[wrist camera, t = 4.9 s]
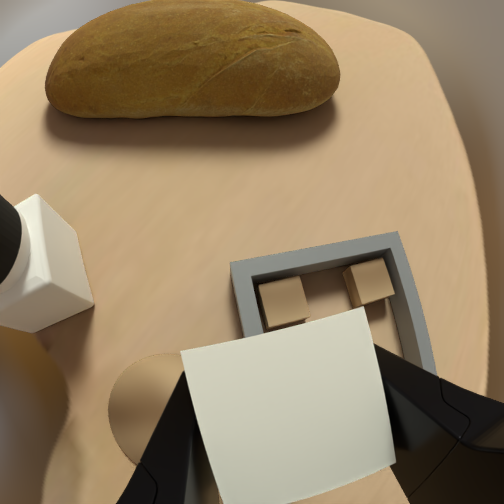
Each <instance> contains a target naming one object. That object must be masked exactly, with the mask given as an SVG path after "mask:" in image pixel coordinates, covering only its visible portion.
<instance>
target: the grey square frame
mask: <svg viewBox="0 0 504 504" xmlns="http://www.w3.org/2000/svg"><path fill="white" fill-rule="evenodd" d="M375 258H378V259H379V258H383V260H384V262H385V265H386V268H387V271H388V274H389V277H390V280H391V283H392V286H393V289H394V293H395V294H393V295H391V296H389V298H390V302H391V305H392V309H393V313H394V316H395V320H396V324H397V328H398V332H399V337H400V341H401V345H402V349H403V354H404V359H405V360H407V361H409V362H411V363H413V364H415V365H417V366H419V367H421V368H423V369H425V370H426V371H428V372H430V373H432V374H434V375H436V376H437V372H436V367H435V362H434V357H433V352H432V347H431V343H430V338H429V334H428V330H427V326H426V322H425V318H424V314H423V310H422V306H421V303H420V299H419V296H418V292H417V289H416V285H415V282H414V279H413V275H412V272H411V269H410V266H409V263H408V260H407V257H406V254H405V251H404V248H403V245H402V242H401V239H400V236H399V234H398V231H396V232H391V233H385V234H380V235H375V236H369V237H364V238H359V239H354V240H348V241H343V242H338V243H332V244H327V245H321V246H316V247H311V248H305V249H300V250H295V251H289V252H284V253H278V254H273V255H267V256H262V257H257V258H251V259H246V260H240V261H235V262H230V274H231V279H232V284H233V289H234V294H235V299H236V304H237V308H238V313H239V318H240V323H241V328H242V332H243V337H244V338H247V337H251V336H255V335H260V334H263V329H262V325H261V320H260V316H259V311H258V306H257V302H256V297H255V293H254V288H253V284H256V283H261V282H266V281H271V280H276V279H281V278H286V277H291V276H296V275H301V274H306V273H311V272H315V271H320V270H325V269H330V268H334V267H339V266H344V265H348V264H353V263H357V262H362V261H366V260H371V259H375Z"/></svg>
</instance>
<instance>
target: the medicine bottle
mask: <svg viewBox="0 0 504 504" xmlns="http://www.w3.org/2000/svg"><path fill="white" fill-rule="evenodd" d="M93 305H94V300H93V297H92V293H91V290H90V286H89V283H88V279H87V275H86V271H85V267H84V264H83V259H82V255H81V251H80V247H79V242H78V238H77V233H76V231H75V230H74V229H73V228H72V227H71V226H70V225H68V224H67V223H66V222H65V221H64V220H63V219H62V218H61V217H60V216H59V215H58V214H57V213H56V212H55V211H54V210H53V209H52V208H51V207H50V206H49V205H48V204H47V203H46V202H45V201H44V200H43V199H42V198H41V197H40V196H39V195H37V194H34V195H33V196H31V197H29V198H27V199H26V200H24V201H22V202H21V203H19V204H18V205H16V206H14V207H13V206H12V205H11V204H10V203H9V202H8V201H7V200H5V199H4V198H3V197H2V196H1V195H0V325H1V326H5V327H8V328H12V329H17V330H21V331H25V332H29V333H35V332H37V331H39V330H41V329H44V328H46V327H48V326H50V325H52V324H55V323H57V322H59V321H61V320H64V319H66V318H68V317H70V316H72V315H75V314H77V313H79V312H81V311H84V310H86V309H88V308H90V307H92V306H93Z"/></svg>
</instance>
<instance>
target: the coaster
mask: <svg viewBox="0 0 504 504" xmlns="http://www.w3.org/2000/svg"><path fill="white" fill-rule="evenodd" d="M183 371H184V365H183V361H182V357H181V355H177V354H158V355H153V356H149V357H146V358H143V359H141V360H139V361H137V362H135V363H134V364H132V365H131V366H129V367H128V368H127V369H126V370H125V371H124V372H123V373H122V374H121V375H120V377H119V378H118V379H117V381H116V383H115V384H114V386H113V389H112V391H111V395H110V399H109V406H108V414H109V422H110V426H111V430H112V433H113V435H114V437H115V439H116V441H117V443H118V445H119V446H120V448H121V449H122V450H123V452H124V453H125V454H126V455H127V456H128V457H129V458H130V459H131V460H132V461H133V462H134V463H135V464H137V465H138V463H139V462H140V459H141V456H142V454H143V452H144V450H145V448H146V446H147V444H148V442H149V440H150V438H151V435H152V433H153V431H154V429H155V427H156V425H157V423H158V421H159V419H160V417H161V415H162V412H163V410H164V408H165V406H166V404H167V402H168V400H169V398H170V396H171V394H172V392H173V390H174V388H175V386H176V383H177V381H178V379H179V377H180V375H181V373H182V372H183Z"/></svg>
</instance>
